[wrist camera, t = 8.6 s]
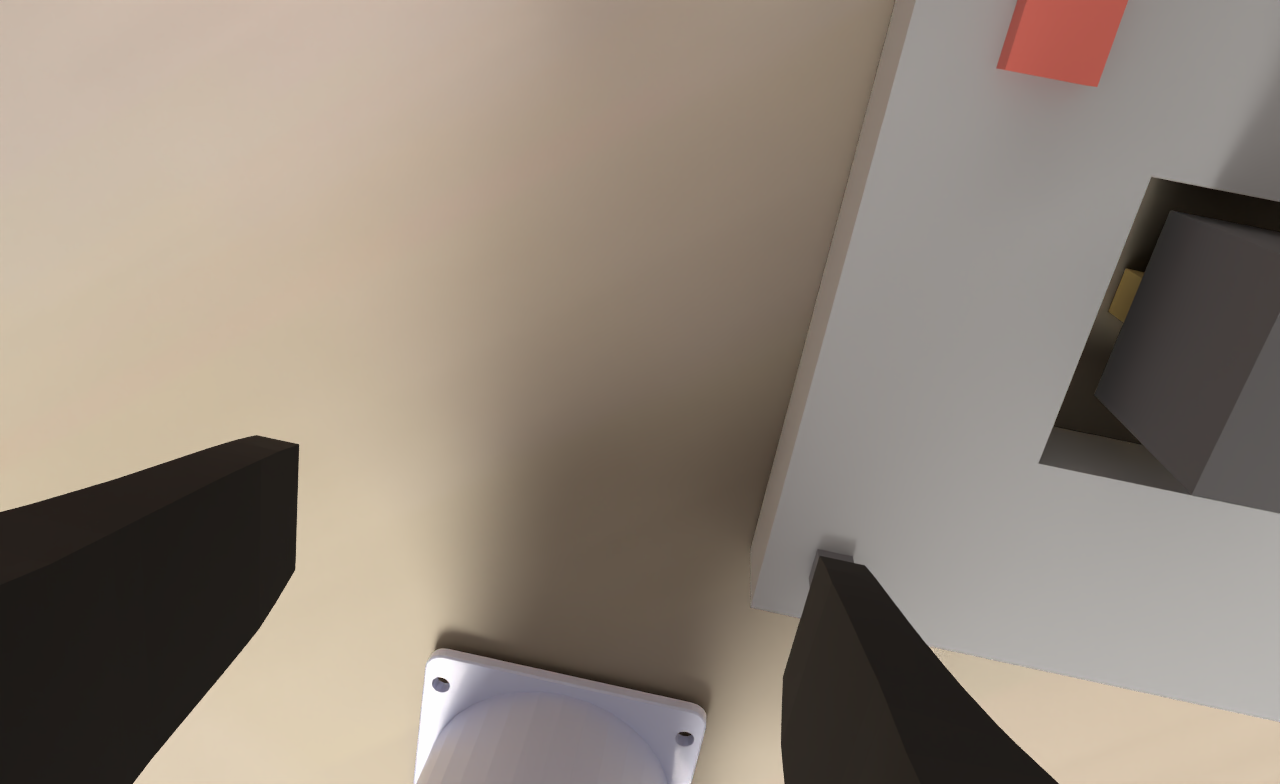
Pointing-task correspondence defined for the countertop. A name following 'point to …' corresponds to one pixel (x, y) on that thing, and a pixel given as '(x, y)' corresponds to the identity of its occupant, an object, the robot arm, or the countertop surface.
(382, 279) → the countertop surface
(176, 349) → the countertop surface
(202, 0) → the countertop surface
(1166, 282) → the plug
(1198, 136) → the socket plate
